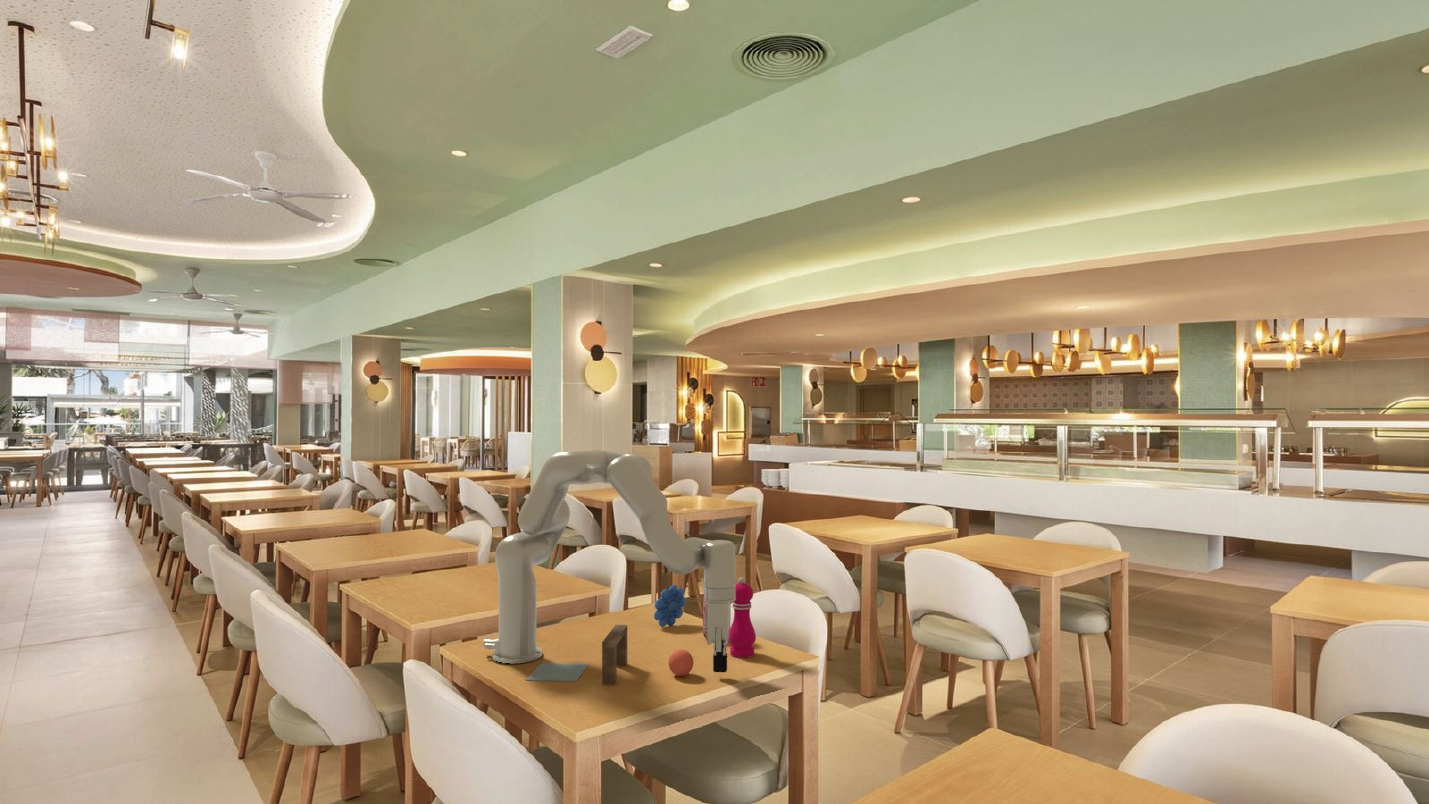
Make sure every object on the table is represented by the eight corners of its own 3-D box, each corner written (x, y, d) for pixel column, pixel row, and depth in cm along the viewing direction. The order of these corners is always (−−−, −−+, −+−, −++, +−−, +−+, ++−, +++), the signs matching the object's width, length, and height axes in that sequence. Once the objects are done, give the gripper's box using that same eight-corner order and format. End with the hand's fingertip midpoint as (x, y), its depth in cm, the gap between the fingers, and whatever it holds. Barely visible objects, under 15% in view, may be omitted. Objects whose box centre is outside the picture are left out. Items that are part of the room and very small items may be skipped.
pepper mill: (760, 652, 194) (760, 576, 195) (747, 660, 188) (747, 581, 188) (736, 648, 198) (736, 573, 198) (723, 655, 191) (723, 578, 192)
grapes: (676, 619, 227) (676, 580, 227) (690, 624, 222) (690, 584, 222) (645, 626, 219) (645, 586, 219) (659, 631, 214) (659, 589, 214)
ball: (666, 679, 174) (666, 653, 174) (670, 670, 180) (670, 646, 180) (692, 680, 174) (692, 654, 174) (694, 671, 180) (694, 646, 180)
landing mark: (525, 680, 174) (525, 679, 174) (541, 663, 185) (541, 663, 185) (576, 681, 173) (576, 680, 173) (588, 664, 185) (588, 664, 185)
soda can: (725, 642, 203) (725, 598, 203) (700, 641, 204) (700, 597, 205) (730, 635, 210) (730, 592, 210) (705, 633, 211) (705, 591, 212)
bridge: (601, 684, 171) (602, 642, 171) (615, 663, 186) (615, 624, 186) (614, 684, 170) (614, 642, 171) (627, 663, 185) (627, 624, 186)
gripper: (706, 586, 183) (707, 660, 183) (701, 600, 168) (701, 681, 168) (737, 586, 183) (737, 661, 182) (734, 601, 168) (734, 682, 167)
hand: (720, 671), depth 175 cm, fingers closed
